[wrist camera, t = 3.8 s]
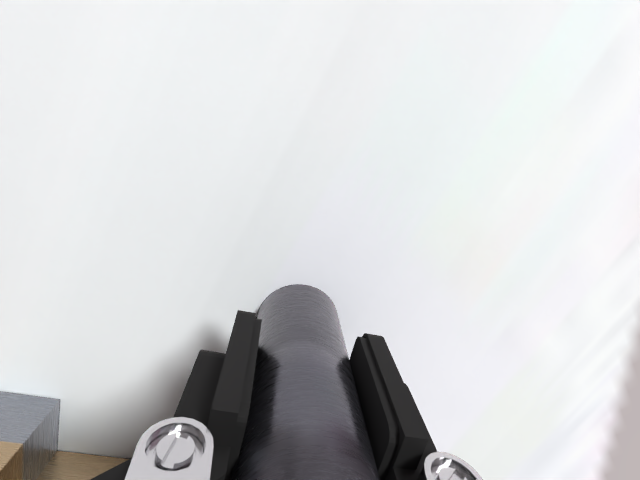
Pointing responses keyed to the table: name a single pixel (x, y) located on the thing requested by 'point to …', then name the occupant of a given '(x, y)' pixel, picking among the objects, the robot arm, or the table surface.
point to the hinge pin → (303, 396)
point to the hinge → (40, 443)
